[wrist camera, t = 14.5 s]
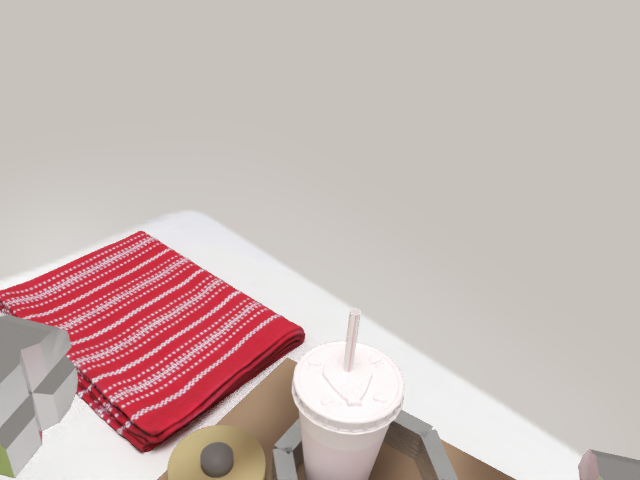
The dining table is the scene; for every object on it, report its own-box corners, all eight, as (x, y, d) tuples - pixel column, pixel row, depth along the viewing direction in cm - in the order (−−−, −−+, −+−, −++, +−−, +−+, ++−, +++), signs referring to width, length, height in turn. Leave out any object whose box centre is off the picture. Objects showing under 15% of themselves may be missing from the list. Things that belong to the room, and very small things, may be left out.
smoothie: (373, 442, 42) (402, 280, 34) (394, 528, 37) (433, 359, 29) (281, 447, 41) (291, 282, 34) (289, 536, 36) (302, 364, 28)
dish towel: (150, 470, 41) (146, 444, 39) (-16, 313, 53) (-23, 289, 52) (312, 346, 52) (314, 322, 51) (145, 241, 64) (143, 220, 63)
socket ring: (239, 508, 37) (239, 482, 36) (334, 400, 45) (337, 376, 44) (397, 619, 32) (404, 594, 31) (472, 475, 40) (480, 451, 39)
